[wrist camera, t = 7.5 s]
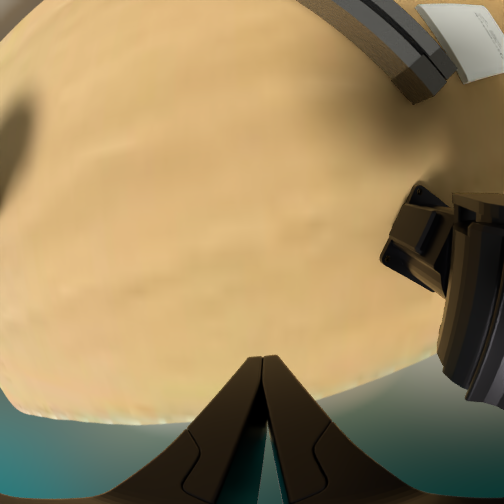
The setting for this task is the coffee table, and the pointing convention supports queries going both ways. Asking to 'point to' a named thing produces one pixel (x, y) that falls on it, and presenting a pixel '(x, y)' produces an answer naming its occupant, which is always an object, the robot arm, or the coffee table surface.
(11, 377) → the coffee table surface
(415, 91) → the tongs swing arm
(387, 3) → the tongs fixed arm
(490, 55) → the external hard drive
